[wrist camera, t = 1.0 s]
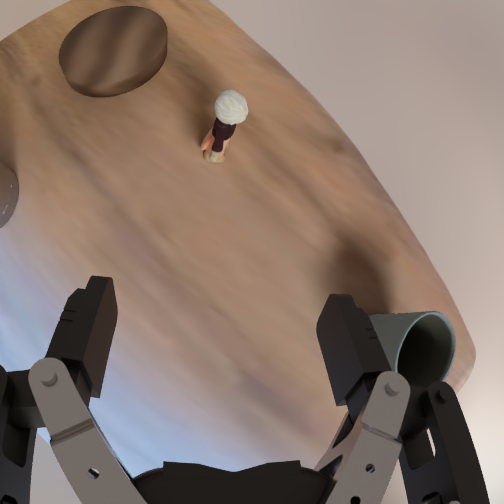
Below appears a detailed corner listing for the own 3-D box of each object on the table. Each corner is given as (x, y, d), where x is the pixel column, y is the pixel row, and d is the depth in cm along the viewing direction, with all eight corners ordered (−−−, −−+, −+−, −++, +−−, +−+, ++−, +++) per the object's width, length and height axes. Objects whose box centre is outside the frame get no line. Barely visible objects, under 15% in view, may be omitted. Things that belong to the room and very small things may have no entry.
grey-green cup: (348, 387, 39) (400, 415, 28) (334, 320, 40) (388, 332, 28) (402, 359, 42) (459, 374, 30) (392, 297, 42) (451, 298, 30)
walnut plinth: (50, 96, 34) (41, 81, 30) (89, 22, 36) (85, 6, 32) (150, 101, 37) (148, 85, 33) (178, 25, 39) (180, 9, 35)
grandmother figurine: (205, 123, 38) (217, 64, 26) (234, 128, 39) (256, 71, 27) (195, 177, 37) (203, 130, 25) (226, 181, 38) (247, 137, 26)
